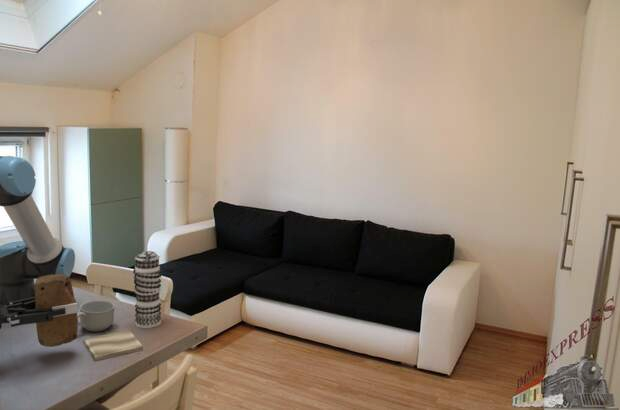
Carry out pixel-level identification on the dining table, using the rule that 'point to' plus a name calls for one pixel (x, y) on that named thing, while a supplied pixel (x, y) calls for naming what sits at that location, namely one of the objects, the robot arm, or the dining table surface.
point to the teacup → (96, 315)
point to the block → (50, 295)
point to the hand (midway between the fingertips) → (73, 302)
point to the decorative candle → (147, 289)
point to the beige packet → (112, 345)
